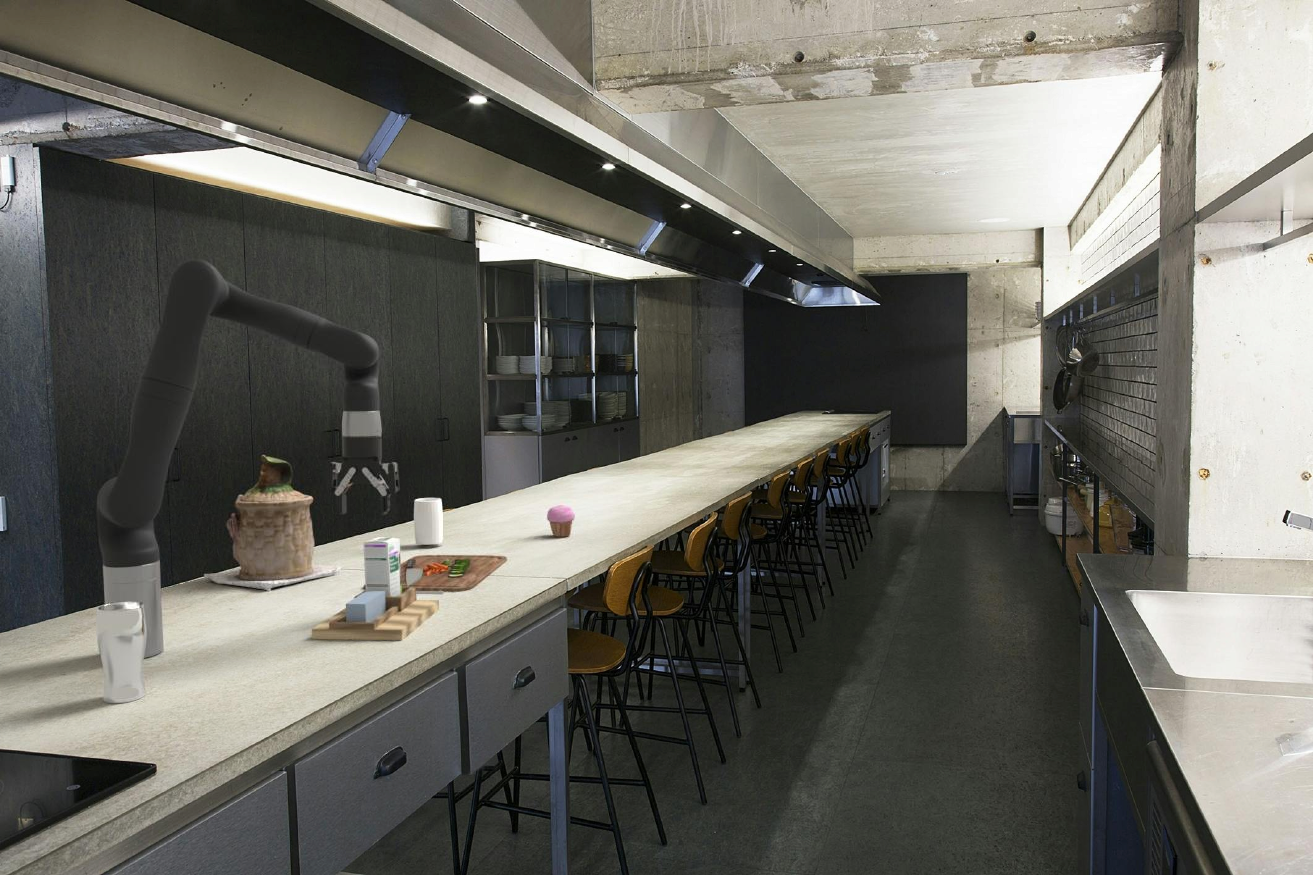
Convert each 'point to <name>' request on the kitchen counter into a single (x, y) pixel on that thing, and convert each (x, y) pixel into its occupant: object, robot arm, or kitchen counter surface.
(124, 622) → the beer glass
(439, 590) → the chopping board
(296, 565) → the cookie jar
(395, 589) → the syrup box
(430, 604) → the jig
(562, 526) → the cupcake
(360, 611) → the block
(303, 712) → the kitchen counter surface
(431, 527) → the cup
